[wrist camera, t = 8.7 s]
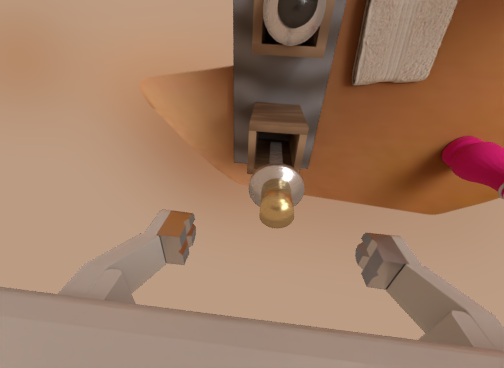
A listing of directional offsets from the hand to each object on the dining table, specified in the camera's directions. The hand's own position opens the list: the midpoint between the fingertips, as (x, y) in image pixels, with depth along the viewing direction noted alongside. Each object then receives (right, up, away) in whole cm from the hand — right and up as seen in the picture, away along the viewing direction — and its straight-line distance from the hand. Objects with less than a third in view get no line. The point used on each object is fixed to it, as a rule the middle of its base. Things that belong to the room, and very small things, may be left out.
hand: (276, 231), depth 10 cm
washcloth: (+21, +28, +21) cm, 41 cm away
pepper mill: (+40, +9, +32) cm, 52 cm away
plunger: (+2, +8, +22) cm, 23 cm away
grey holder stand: (+4, +21, +27) cm, 34 cm away
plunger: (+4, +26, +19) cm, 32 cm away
